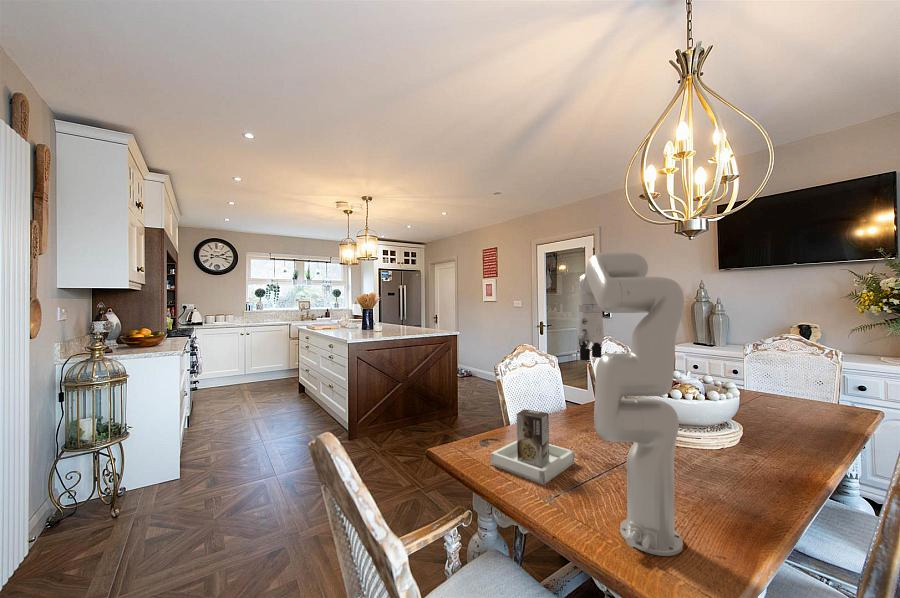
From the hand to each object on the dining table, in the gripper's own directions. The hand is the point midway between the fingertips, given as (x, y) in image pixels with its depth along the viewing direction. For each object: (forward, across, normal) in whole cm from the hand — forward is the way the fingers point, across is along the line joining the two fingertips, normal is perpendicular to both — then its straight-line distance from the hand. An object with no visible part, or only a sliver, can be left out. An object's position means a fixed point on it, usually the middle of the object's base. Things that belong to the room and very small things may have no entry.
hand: (591, 358), depth 128 cm
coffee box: (+34, -19, +12) cm, 40 cm away
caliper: (+35, +26, +2) cm, 43 cm away
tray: (+34, -19, +12) cm, 41 cm away
